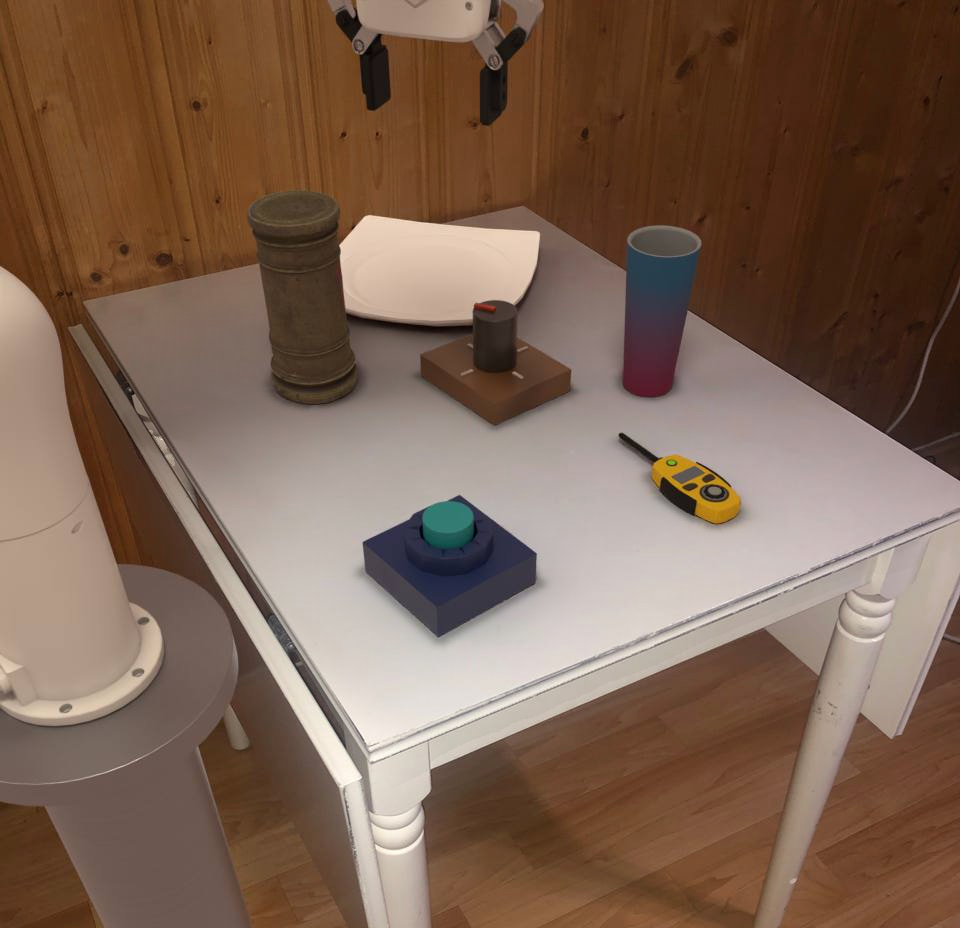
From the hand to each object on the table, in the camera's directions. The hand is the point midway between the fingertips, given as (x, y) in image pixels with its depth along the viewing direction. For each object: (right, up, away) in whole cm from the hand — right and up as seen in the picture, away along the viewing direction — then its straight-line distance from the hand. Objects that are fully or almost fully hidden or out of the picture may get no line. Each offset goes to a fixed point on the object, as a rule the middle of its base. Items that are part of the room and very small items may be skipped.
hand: (434, 112), depth 83 cm
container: (-13, -15, +25) cm, 32 cm away
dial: (+5, -14, +23) cm, 27 cm away
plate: (-2, 0, +41) cm, 41 cm away
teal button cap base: (+1, -37, +3) cm, 37 cm away
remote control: (+21, -27, +13) cm, 37 cm away
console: (+5, -15, +25) cm, 29 cm away
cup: (+21, -16, +24) cm, 36 cm away
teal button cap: (+1, -33, 0) cm, 33 cm away
